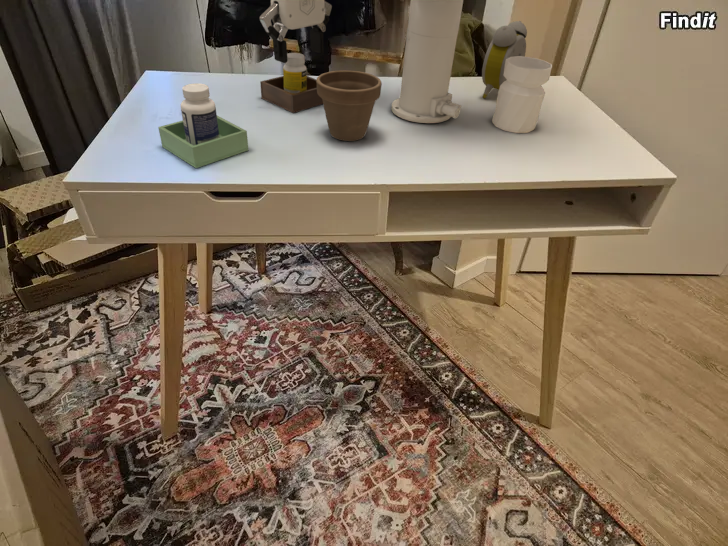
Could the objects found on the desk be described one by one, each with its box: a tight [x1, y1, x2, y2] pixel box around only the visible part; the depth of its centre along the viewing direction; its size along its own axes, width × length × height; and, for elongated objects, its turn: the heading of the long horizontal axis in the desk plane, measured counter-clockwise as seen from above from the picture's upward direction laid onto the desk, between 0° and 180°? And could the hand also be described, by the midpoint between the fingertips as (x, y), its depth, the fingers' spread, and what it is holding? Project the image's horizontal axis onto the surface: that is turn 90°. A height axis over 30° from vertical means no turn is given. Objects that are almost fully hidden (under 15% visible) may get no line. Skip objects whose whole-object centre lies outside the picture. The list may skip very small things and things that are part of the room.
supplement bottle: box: [282, 52, 308, 94], centre depth 102 cm, size 5×5×8 cm
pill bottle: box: [180, 83, 220, 146], centre depth 81 cm, size 5×5×10 cm
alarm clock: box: [481, 20, 528, 99], centre depth 110 cm, size 12×7×15 cm, turn 144°
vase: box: [491, 56, 553, 134], centre depth 98 cm, size 9×9×12 cm
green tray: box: [158, 115, 249, 169], centre depth 84 cm, size 10×10×4 cm
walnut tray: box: [259, 75, 323, 114], centre depth 104 cm, size 10×10×4 cm
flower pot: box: [316, 69, 382, 142], centre depth 90 cm, size 12×11×10 cm
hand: (299, 56), depth 100 cm, fingers open, 9 cm apart
